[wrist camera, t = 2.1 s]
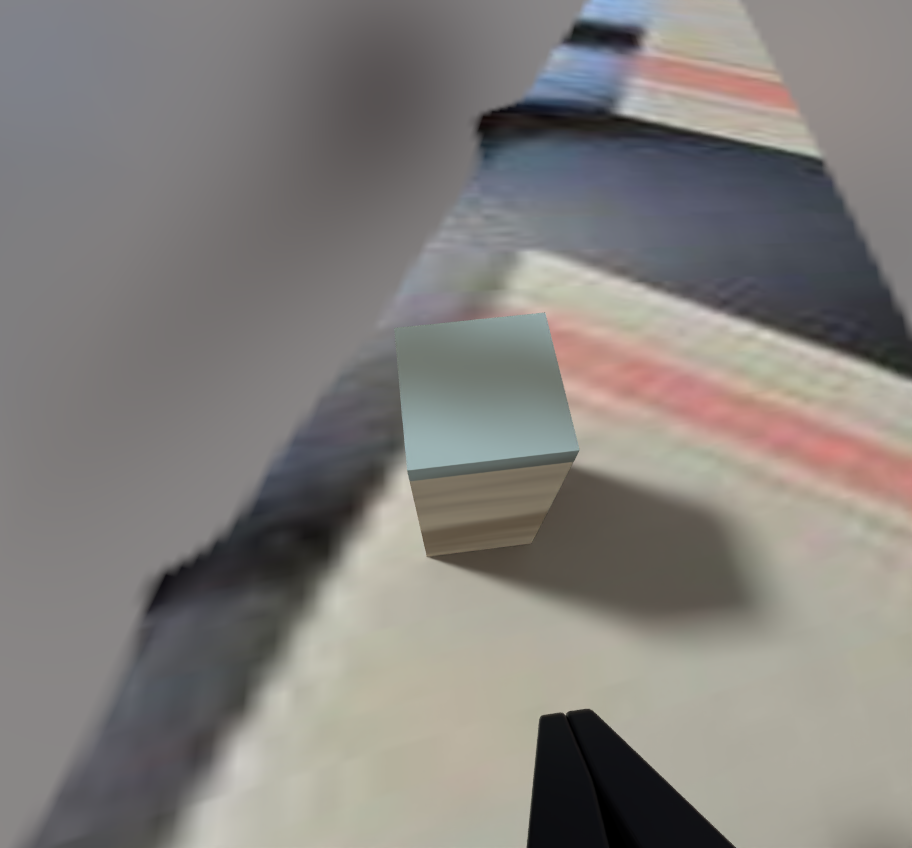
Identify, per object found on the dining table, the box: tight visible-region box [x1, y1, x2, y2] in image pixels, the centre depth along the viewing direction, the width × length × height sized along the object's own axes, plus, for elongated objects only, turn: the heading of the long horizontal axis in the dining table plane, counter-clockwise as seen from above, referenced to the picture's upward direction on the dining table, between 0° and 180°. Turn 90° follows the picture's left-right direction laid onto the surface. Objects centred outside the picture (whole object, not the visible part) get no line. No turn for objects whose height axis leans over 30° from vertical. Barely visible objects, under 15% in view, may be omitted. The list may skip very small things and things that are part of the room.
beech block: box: [394, 313, 579, 557], centre depth 19 cm, size 4×4×10 cm
